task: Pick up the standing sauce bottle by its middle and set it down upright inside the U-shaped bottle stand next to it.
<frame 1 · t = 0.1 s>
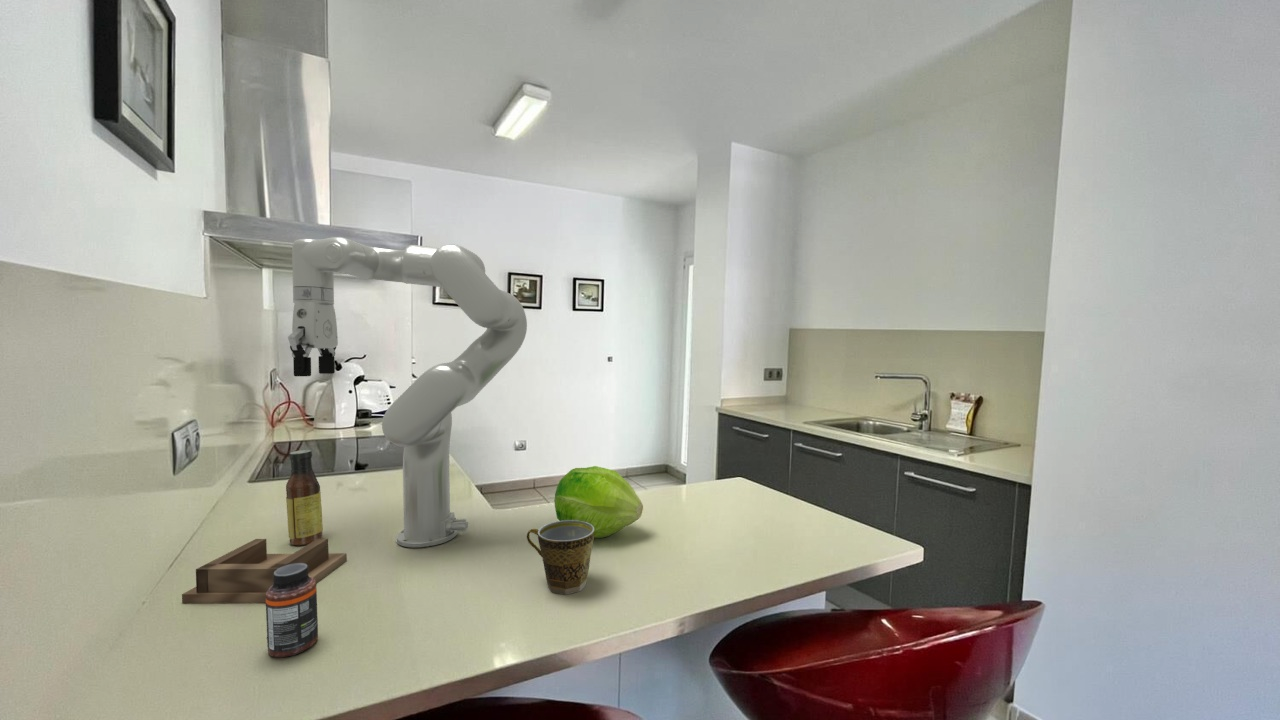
hand: (315, 374, 109), 36 cm above the countertop, fingers open, 9 cm apart
bottle stand: (271, 580, 91), on the countertop
ceramic cup: (559, 585, 89), on the countertop
sauce bottle: (305, 542, 109), on the countertop
lettuce: (598, 535, 112), on the countertop
supplement bottle: (293, 647, 71), on the countertop
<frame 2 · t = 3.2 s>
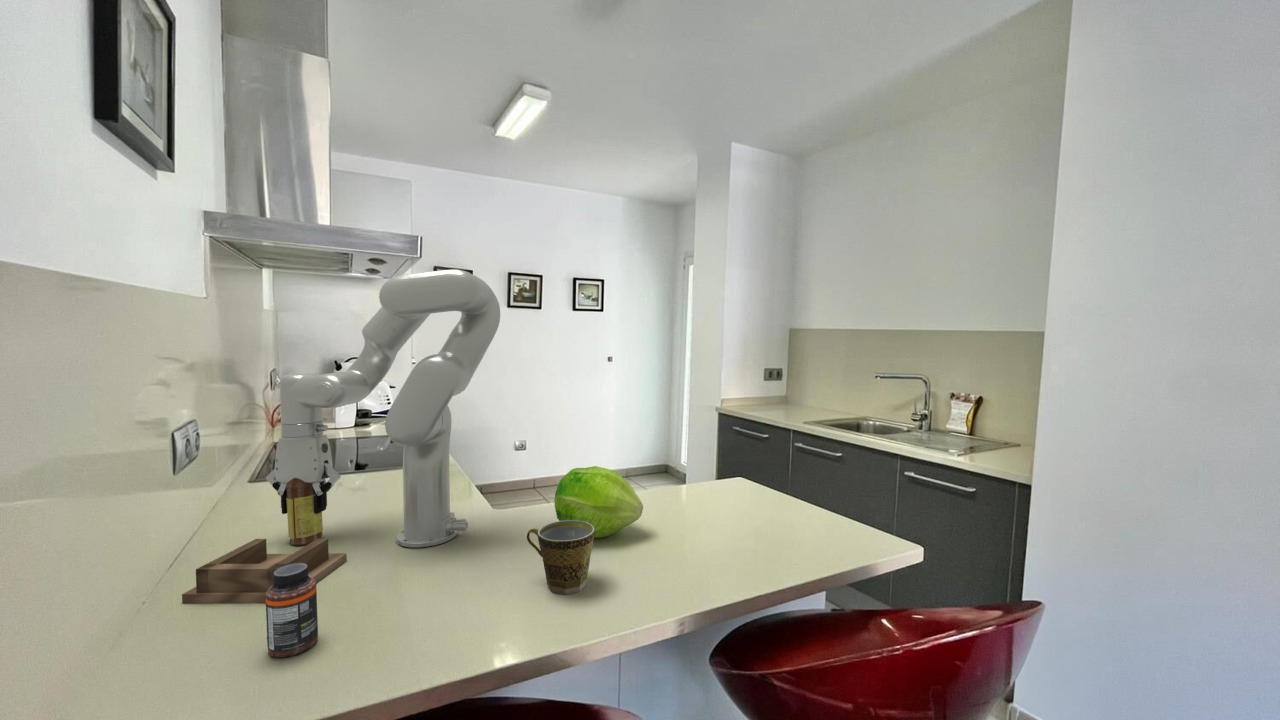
hand: (304, 511, 108), 7 cm above the countertop, fingers closed on sauce bottle, 6 cm apart
sauce bottle: (305, 542, 109), on the countertop, touching gripper
everything else where it was.
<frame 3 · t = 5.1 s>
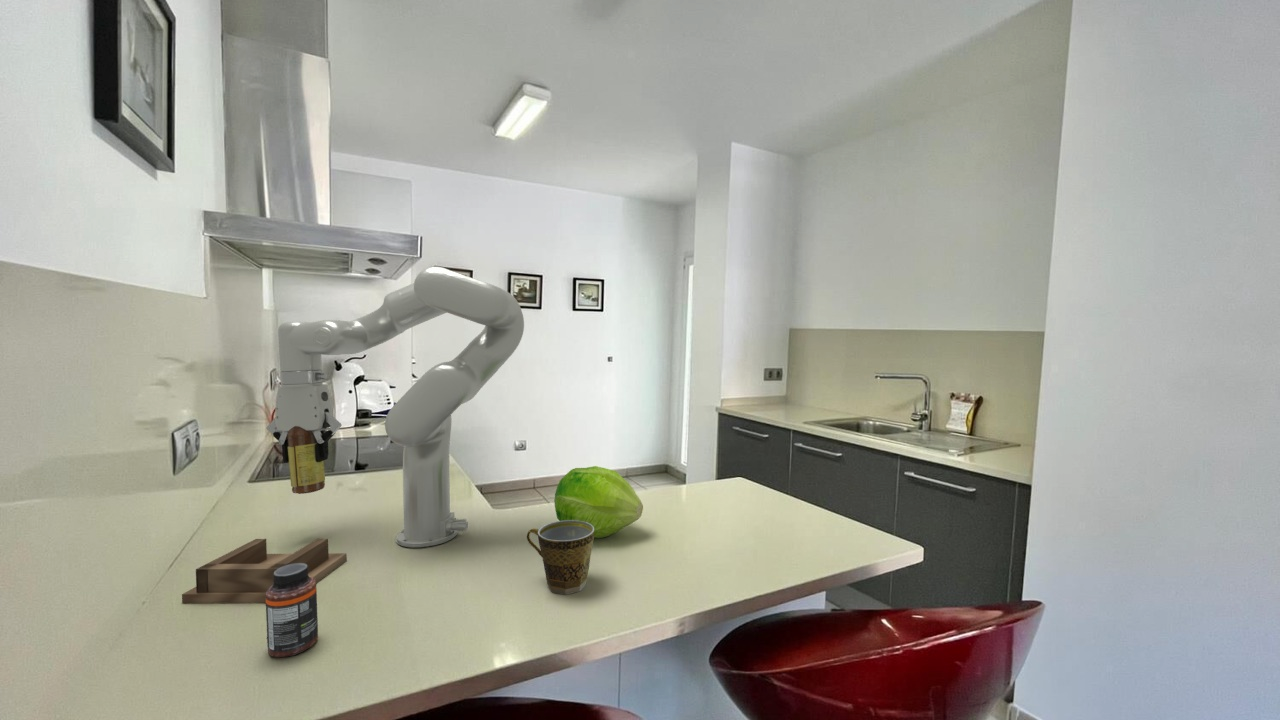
hand: (305, 460, 108), 18 cm above the countertop, fingers closed on sauce bottle, 6 cm apart
sauce bottle: (307, 491, 108), point 11 cm above the countertop, touching gripper
everything else where it was.
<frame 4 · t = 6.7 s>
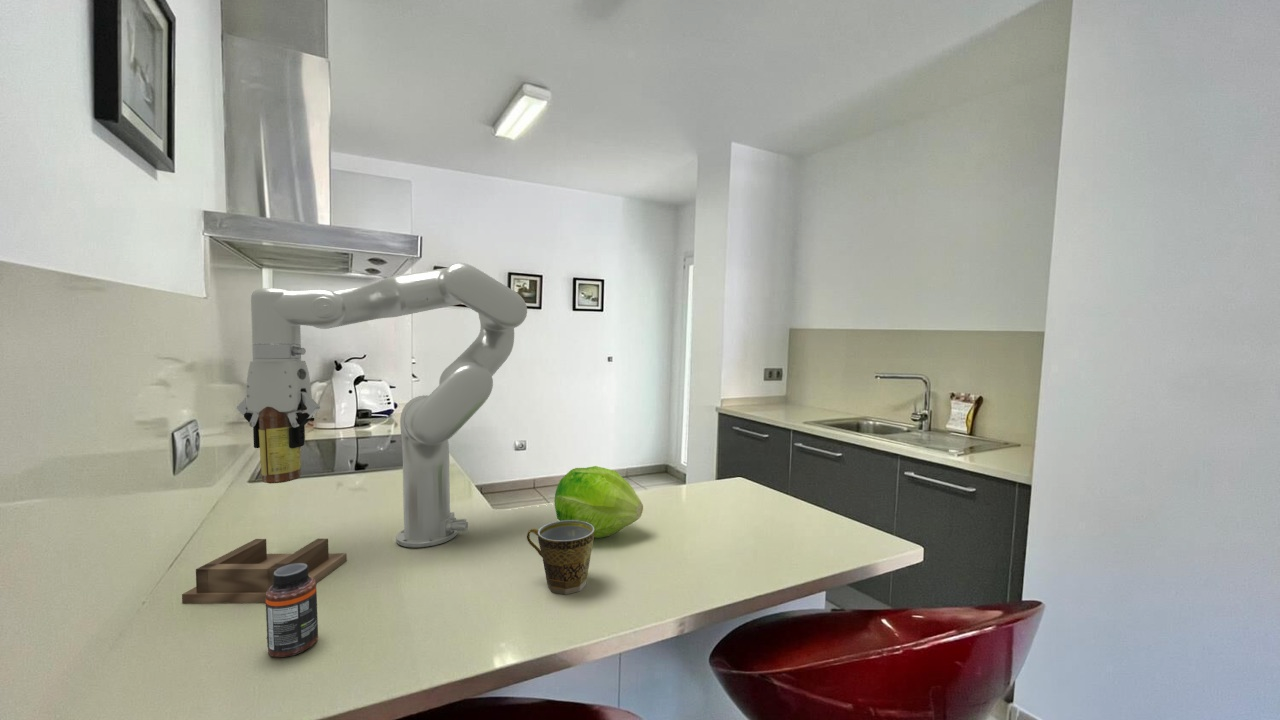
hand: (279, 445, 95), 24 cm above the countertop, fingers closed on sauce bottle, 6 cm apart
sauce bottle: (280, 481, 96), point 17 cm above the countertop, touching gripper
everything else where it was.
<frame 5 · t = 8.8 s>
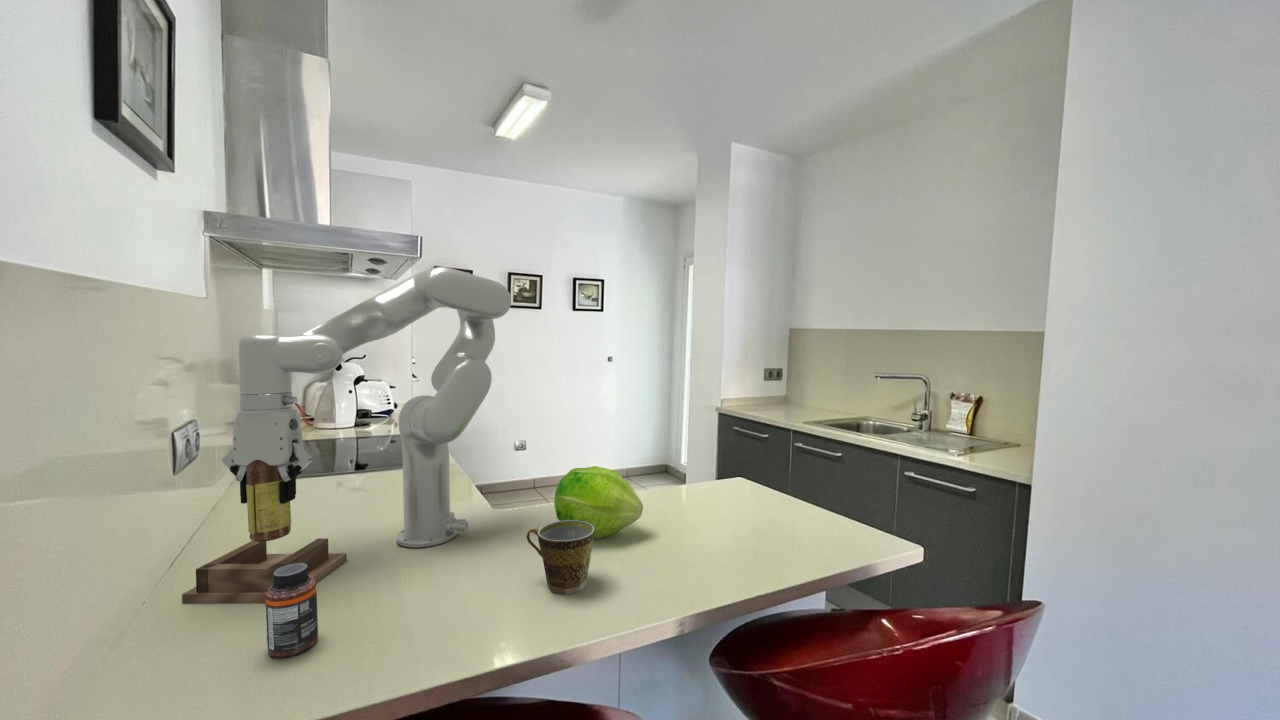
hand: (268, 500, 90), 15 cm above the countertop, fingers closed on sauce bottle, 6 cm apart
sauce bottle: (269, 537, 90), point 8 cm above the countertop, touching gripper
everything else where it was.
when the fingers open (9 cm above the countertop, at t = 10.3 s): sauce bottle drops 1 cm, resting on bottle stand.
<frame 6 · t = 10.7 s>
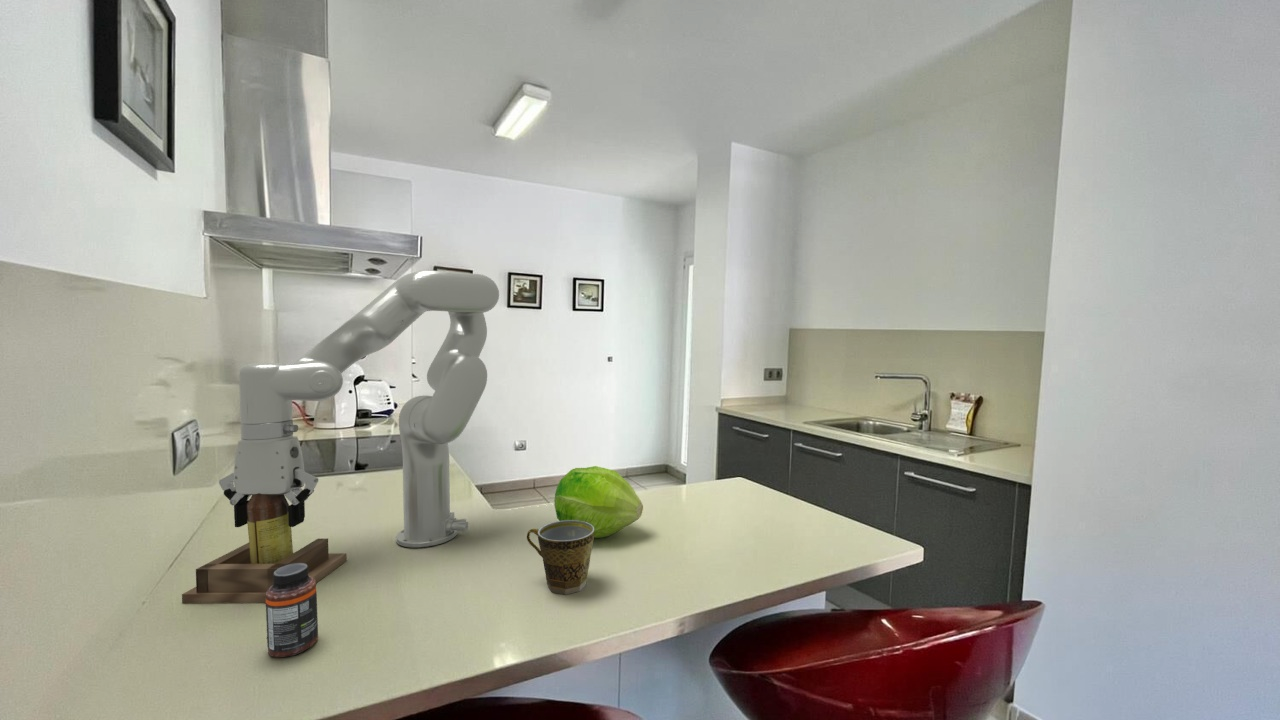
hand: (270, 524, 90), 10 cm above the countertop, fingers open, 9 cm apart
sauce bottle: (272, 572, 91), point 1 cm above the countertop, touching bottle stand
everything else where it was.
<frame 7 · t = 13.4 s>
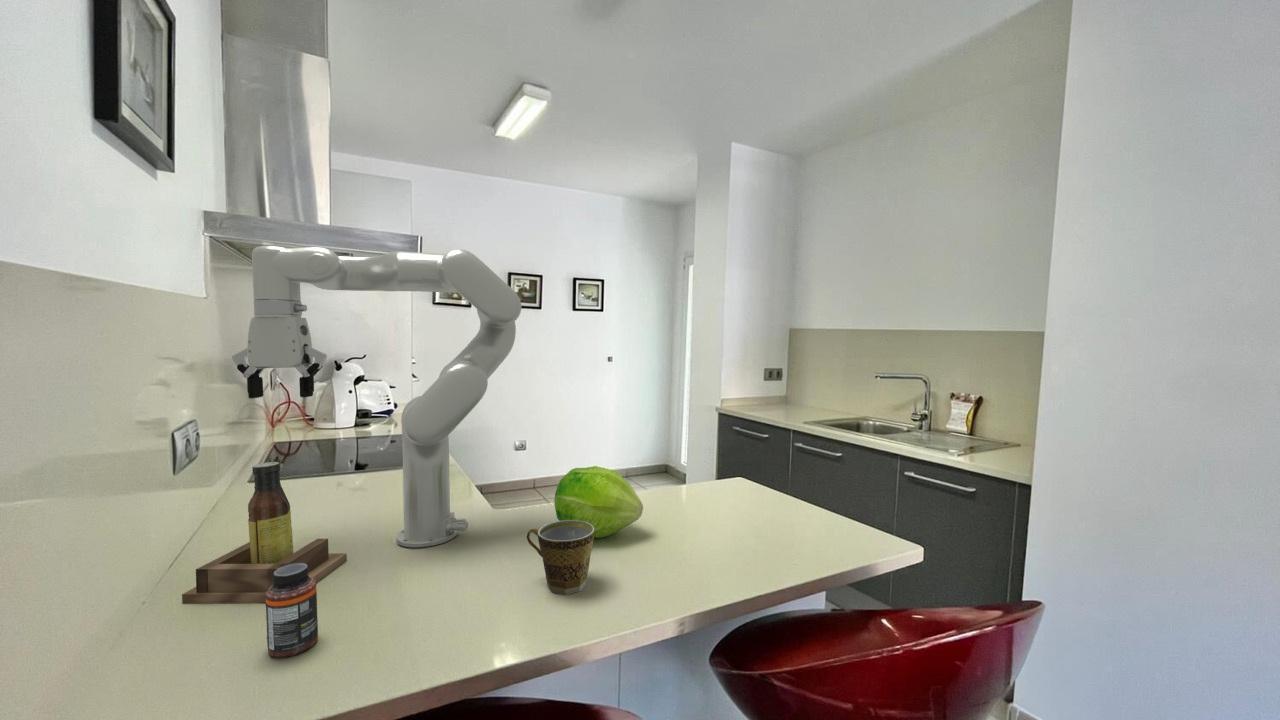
hand: (281, 397, 98), 33 cm above the countertop, fingers open, 9 cm apart
nothing on the countertop moved.
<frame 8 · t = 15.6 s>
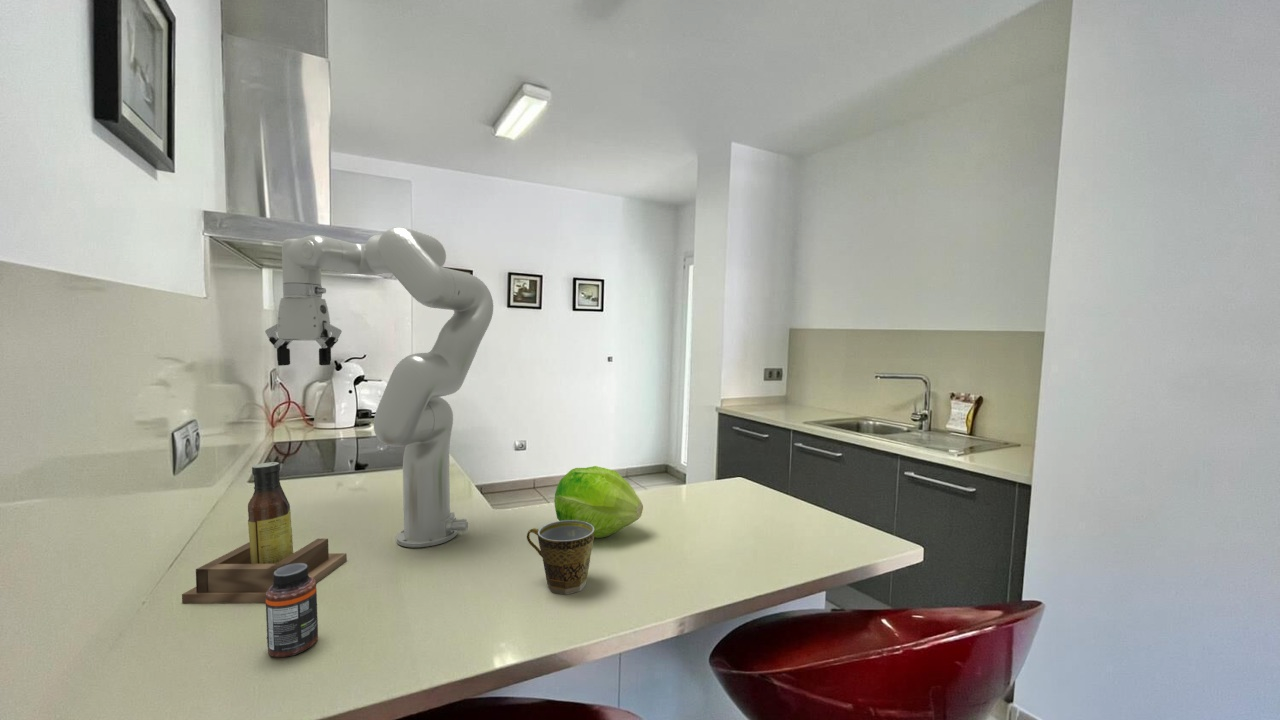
hand: (304, 365, 117), 38 cm above the countertop, fingers open, 9 cm apart
nothing on the countertop moved.
at the end: sauce bottle 0.1 cm off-centre on the bottle stand, point 1.3 cm above the bottle stand's base; sauce bottle tilted 0°; the gripper is holding nothing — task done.
